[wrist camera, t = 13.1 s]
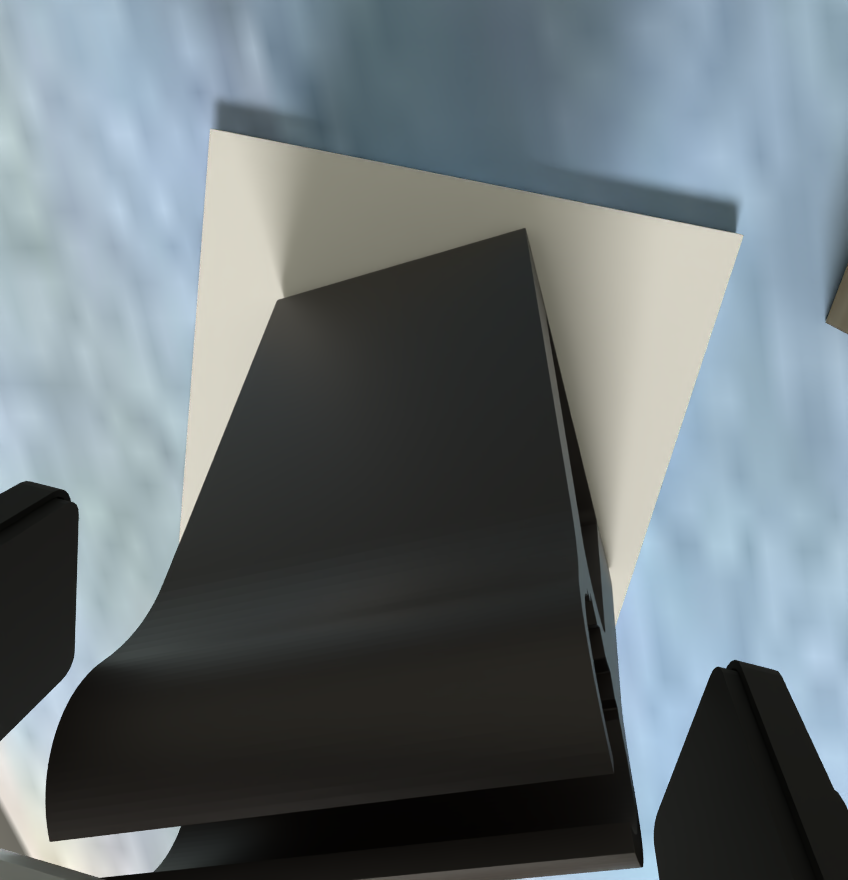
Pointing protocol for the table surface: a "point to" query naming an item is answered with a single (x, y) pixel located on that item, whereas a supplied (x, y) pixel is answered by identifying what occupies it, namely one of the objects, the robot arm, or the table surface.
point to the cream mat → (447, 227)
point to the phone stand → (376, 611)
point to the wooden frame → (840, 306)
